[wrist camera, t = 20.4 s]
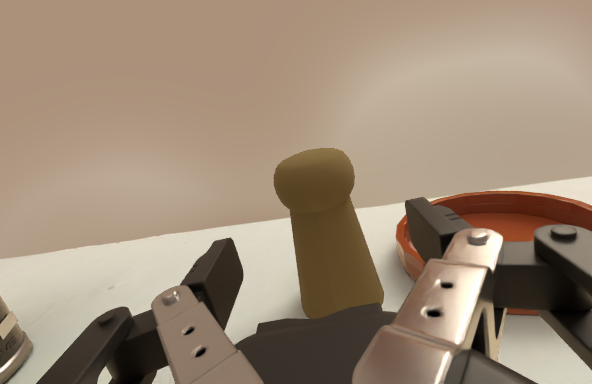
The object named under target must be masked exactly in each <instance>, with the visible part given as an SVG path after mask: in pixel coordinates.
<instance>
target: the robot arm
mask: <svg viewBox="0 0 592 384" xmlns="http://www.w3.org/2000/svg"><path fill="white" fill-rule="evenodd" d="M405 208H406V215H407V221H408V228H409V234H410V238H411V242H412V244H413V246H414V248H415V249H416V251H417V252H418V254H419V255H420V257H421V258H422V260H423V261H424V262H425V264H426V266H425V268H424V269H423V271H422V273H421V274H420V276H419V278H418V279H417V281H416V283H415V284H414V286H413V288H412V289H411V291H410V293H409V294H408V296H407V298H406V299H405V301H404V303H403V304H402V306H401V308H400V309H399V311H398V313H396V312H387V311H382V308H381V305H380V302H378V303H372V304H367V305H361V306H355V307H350V308H346V309H344V310H341V311H338V312H336V313H333V314H330V315H328V316H325V317H322V318H319V319H281V320H276V321H270V322H264V323H259V324H258V327H257V332H256V334H253V335H251V336H249V337H247V338H245V339H243V340H241V341H240V342H238V343H237V344H235V345H233V344H232V342H231V341H230V339H229V338H228V337H227V335H226V334H225V332H224V330H225V328H226V325H227V322H228V319H229V317H230V314H231V311H232V308H233V306H234V303H235V300H236V298H237V295H238V292H239V289H240V287H241V284H242V281H243V268H242V265H241V262H240V259H239V256H238V253H237V250H236V247H235V245H234V242H233V240H232V239H231V238H226V239H222V240H217V241H214V242H213V244H212V245H211V247H210V248H209V250H208V251H207V253H205V254H204V255H203V256H201V257H200V258H199V259H198V260H197V261H196V262H195V264H194V265H193V268H191V270H190V271H189V273H188V274H187V275H186V277H185V278H184V280H183V281H182V283H181V284H180V285H179V286H176V287H173V288H170V289H168V290H166V291H164V292H163V293H161V294H160V295H158V296H157V297H156V298H155V299H154V300H153V302H152V304H151V308H152V309H151V310H149V311H146V312H144V313H141V314H138V315H136V316H133V317H132V315H131V313H130V311H129V309H128V308H127V307H118V308H115V309H112V310H110V311H108V312H106V313H104V314H102V315H101V316H99V317H98V318H96V319H95V320H94V321H93V322H92V323H91V324H90V325H89V326H88V327H87V328H86V329H85V330H84V331H83V332H82V334H81V335H80V336H79V337H78V338H77V339H76V340H75V341H74V342H73V344H72V345H71V346H70V347H69V348H68V349H67V350H66V351H65V352H64V353H63V355H62V356H61V357H60V358H59V359H58V360H57V361H56V362H55V363H54V364H53V366H52V367H51V368H50V369H49V370H48V371H47V372H46V373H45V374H44V376H43V377H42V378H41V379H40V380H39V381H38V382H37V383H36V384H97V381H98V377H99V375H100V373H101V371H102V370H103V368H104V367H105V366H106V367H107V369H108V371H109V372H110V374H111V376H112V379H111V381H110V382H109V384H152V382H153V380H154V378H155V376H156V373H157V370H159V369H161V368H163V367H166V366H168V365H169V366H170V369H171V372H172V375H173V378H174V381H175V384H537V383H535V382H533V381H532V380H530V379H528V378H526V377H524V376H522V375H521V374H519V373H517V372H515V371H513V370H511V369H509V368H508V367H506V366H504V365H502V364H500V363H498V352H499V347H500V342H501V337H502V333H503V328H504V323H505V318H506V314H507V308H511V309H529V310H536V311H537V312H538V314H539V315H540V316H541V317H542V318H543V319H544V320H545V321H546V322H547V323H548V324H549V325H550V326H551V327H552V329H553V330H554V331H555V332H556V333H557V334H558V335H559V336H560V337H561V338H562V339H563V340H564V341H565V342H566V343H567V344H568V345H569V347H570V348H571V349H572V350H573V351H574V352H575V353H576V354H577V355H578V356H579V357H580V358H581V359H582V360H583V361H584V362H585V363H586V364H587V366H588V367H589V368H590V369H591V370H592V232H591V231H589V230H587V229H584V228H581V227H578V226H572V225H563V224H555V225H546V226H542V227H539V228H537V229H536V230H535V231H534V241H518V242H509V241H503V237H502V235H501V234H500V233H498V232H496V231H494V230H490V229H486V228H474V227H472V226H471V225H470V224H469V223H467V222H466V221H465V220H464V219H462V218H461V217H460V216H459V215H457V214H456V213H455V212H454V211H452V210H451V209H450V208H447V207H444V206H441V205H435V206H433V205H432V204H431V203H430V202H429V201H428V200H426V199H425V198H424V197H420V198H416V199H411V200H407V201H405ZM17 321H18V320H17V318H16V317H15V315H14V314H13V312H12V311H11V312H10V311H9V309H8V307H7V306H6V304H5V303H4V301H3V299H2V298H1V296H0V384H3V383H4V382H5V381H6V380H7V379H8V378H9V377H10V376H12V375H13V374H14V373H15V372H16V370H17V369H18V368H19V367H20V366H21V365H22V364H23V363H24V361H25V360H26V359H27V357H28V355H29V354H30V352H31V349H32V343H31V341H30V339H29V338H28V336H27V335H26V333H25V332H24V331H22V330H21V329H20V327H19V325H18V324H17Z"/></svg>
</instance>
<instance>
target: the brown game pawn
mask: <svg viewBox="0 0 592 384" xmlns="http://www.w3.org/2000/svg"><path fill="white" fill-rule="evenodd" d="M354 179H355V175H354V170H353V166H352V164H351V162H350V160H349V158H348V157H347V155H346V154H345V153H344V152H343V151H341V150H338V149H334V148H320V149H313V150H307V151H304V152H301V153H298V154H295V155H293V156H291V157H289V158H287V159H285V160H283V161H282V162H281V163H280V164H279V165H278V166H277V168H276V171H275V174H274V187H275V190H276V193H277V195H278V197H279V199H280V200H281V202H282V203H283V204H284V205H285V206H286V207H287V208H288V209H290V216H291V223H292V231H293V239H294V246H295V254H296V262H297V269H298V277H299V285H300V292H301V300H302V308H303V310H304V312H305V314H306V316H307V317H308V318H310V319H319V318H322V317H325V316H328V315H330V314H333V313H336V312H338V311H341V310H344V309H346V308H350V307H355V306H361V305H367V304H372V303H378V302H380V305H381V304H382V303H383V298H384V292H383V289H382V286H381V283H380V280H379V277H378V275H377V272H376V269H375V266H374V263H373V260H372V258H371V255H370V252H369V249H368V246H367V244H366V241H365V238H364V235H363V232H362V229H361V227H360V224H359V221H358V218H357V215H356V212H355V210H354V207H353V204H352V201H351V198H350V196H349V195H350V193H351V191H352V189H353V187H354Z"/></svg>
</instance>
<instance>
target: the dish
mask: <svg viewBox="0 0 592 384" xmlns="http://www.w3.org/2000/svg"><path fill="white" fill-rule="evenodd" d="M430 203H431V204H432V205H433V206H435V205H441V206H444V207H447V208H450V209H451V210H452V211H454V212H455V213H456V214H457V215H459V216H460V217H461V218H462V219H464V220H465V221H466V222H467V223H469V224H470V225H471V226H472V227H474V228H486V229H490V230H494V231H496V232H498V233H500V234H501V235H502V237H503V241H509V242H518V241H534V231H535V230H536V229H537V228H539V227H542V226H546V225H555V224H563V225H572V226H578V227H581V228H584V229H587V230H589V231H591V232H592V206H591V205H589V204H586V203H584V202H581V201H578V200H573V199H569V198H564V197H559V196H555V195H550V194H542V193H533V192H523V191H485V192H474V193H464V194H459V195H454V196H449V197H445V198H440V199H437V200H434V201H431V202H430ZM396 241H397V247H398V253H399V258H400V259H401V263H402V265H403V267H404V269H405V270H406V272H407V273H408V274H409V276H410V277H411V278H412V279H413V280H414V281H417V279H418V278H419V276H420V274H421V273H422V271H423V269H424V268H425V266H426V264H425V262H424V261H423V260H422V258H421V257H420V255H419V254H418V252H417V251H416V249H415V248H414V246H413V244H412V242H411V238H410V234H409V228H408V221H407V215H405V216H404V217H403V219H402V220H401V221H400V222H399V223H398V225H397V231H396ZM507 313H508V314H524V315H539V314H538V312H537V311H536V310H529V309H511V308H507Z"/></svg>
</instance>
